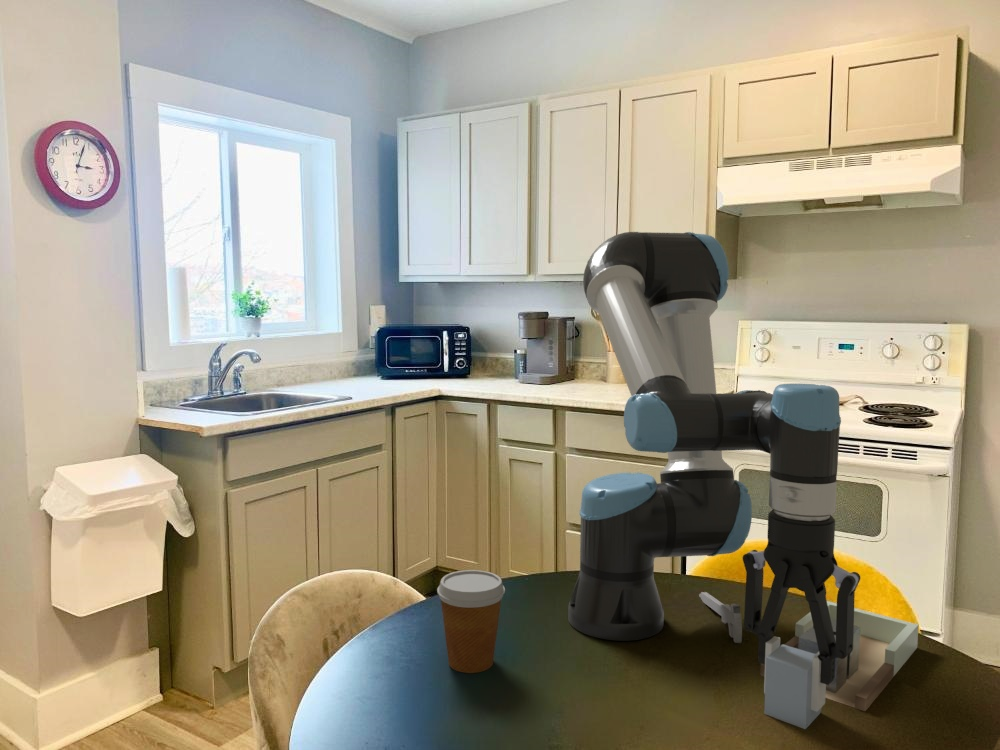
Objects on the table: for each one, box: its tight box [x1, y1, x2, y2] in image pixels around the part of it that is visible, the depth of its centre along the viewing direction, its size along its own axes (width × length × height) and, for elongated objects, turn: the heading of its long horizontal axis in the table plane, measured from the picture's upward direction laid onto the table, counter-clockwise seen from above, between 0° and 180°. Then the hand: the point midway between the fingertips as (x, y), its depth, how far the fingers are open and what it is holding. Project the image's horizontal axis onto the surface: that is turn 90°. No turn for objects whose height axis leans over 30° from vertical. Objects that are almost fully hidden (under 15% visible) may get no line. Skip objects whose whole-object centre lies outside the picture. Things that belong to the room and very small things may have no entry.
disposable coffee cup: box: [436, 569, 506, 674], centre depth 107 cm, size 10×10×12 cm
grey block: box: [763, 643, 822, 730], centre depth 93 cm, size 5×5×8 cm
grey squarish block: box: [798, 628, 847, 693], centre depth 101 cm, size 5×4×6 cm
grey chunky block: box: [813, 619, 860, 679], centre depth 105 cm, size 5×4×6 cm
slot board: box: [759, 635, 918, 712], centre depth 108 cm, size 13×24×2 cm, turn 138°
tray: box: [794, 600, 919, 678], centre depth 112 cm, size 13×12×4 cm
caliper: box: [698, 591, 743, 644], centre depth 123 cm, size 20×1×6 cm, turn 0°
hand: (794, 697), depth 94 cm, fingers closed on grey block, 5 cm apart
